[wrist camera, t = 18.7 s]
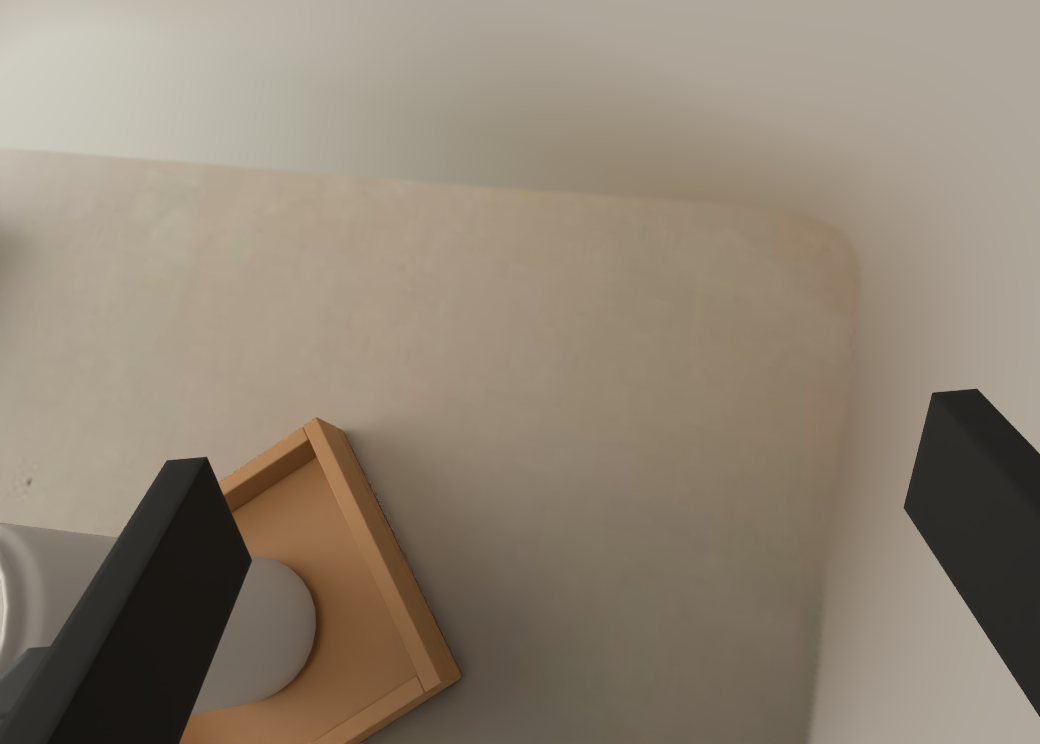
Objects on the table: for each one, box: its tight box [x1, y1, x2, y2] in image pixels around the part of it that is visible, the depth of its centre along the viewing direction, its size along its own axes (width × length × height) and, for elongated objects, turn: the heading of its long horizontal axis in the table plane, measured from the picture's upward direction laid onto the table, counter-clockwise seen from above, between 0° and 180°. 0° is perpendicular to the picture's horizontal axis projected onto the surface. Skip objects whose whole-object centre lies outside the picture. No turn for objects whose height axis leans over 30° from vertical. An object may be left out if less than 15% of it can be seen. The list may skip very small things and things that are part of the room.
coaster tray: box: [179, 418, 462, 744], centre depth 25 cm, size 11×10×2 cm
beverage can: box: [0, 523, 316, 715], centre depth 20 cm, size 5×5×12 cm
